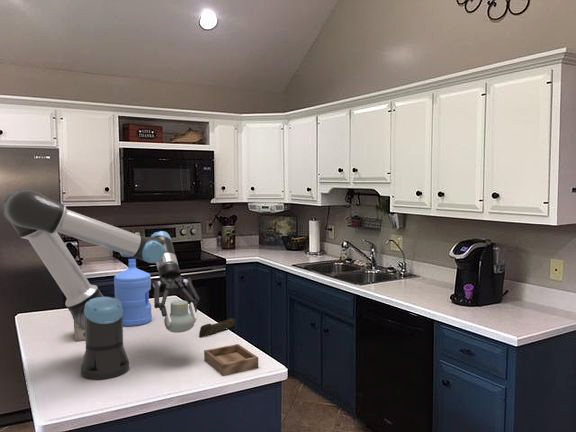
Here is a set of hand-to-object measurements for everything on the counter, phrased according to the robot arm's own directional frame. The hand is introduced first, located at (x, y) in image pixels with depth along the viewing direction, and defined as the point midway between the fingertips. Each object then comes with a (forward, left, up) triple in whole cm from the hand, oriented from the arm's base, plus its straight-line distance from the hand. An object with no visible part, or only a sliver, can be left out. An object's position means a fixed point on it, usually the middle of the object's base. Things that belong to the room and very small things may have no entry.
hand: (182, 322), depth 169 cm
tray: (+14, -9, -14) cm, 22 cm away
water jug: (-2, +60, -15) cm, 62 cm away
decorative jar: (-22, +49, -15) cm, 56 cm away
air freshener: (0, +3, -4) cm, 5 cm away
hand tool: (+24, +27, -15) cm, 39 cm away
